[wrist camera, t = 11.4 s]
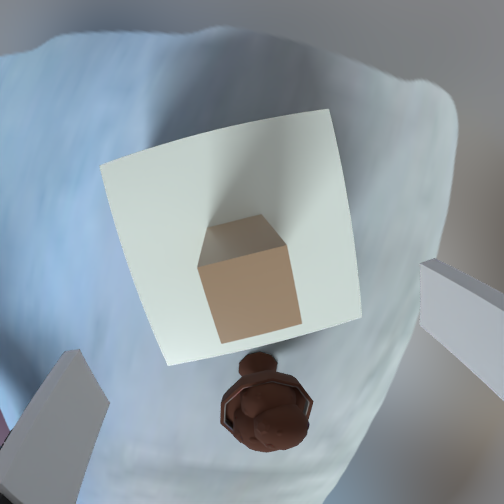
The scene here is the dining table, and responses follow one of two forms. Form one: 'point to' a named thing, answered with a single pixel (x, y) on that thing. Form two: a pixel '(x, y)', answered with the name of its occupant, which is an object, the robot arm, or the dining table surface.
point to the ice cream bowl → (266, 406)
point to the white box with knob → (238, 235)
